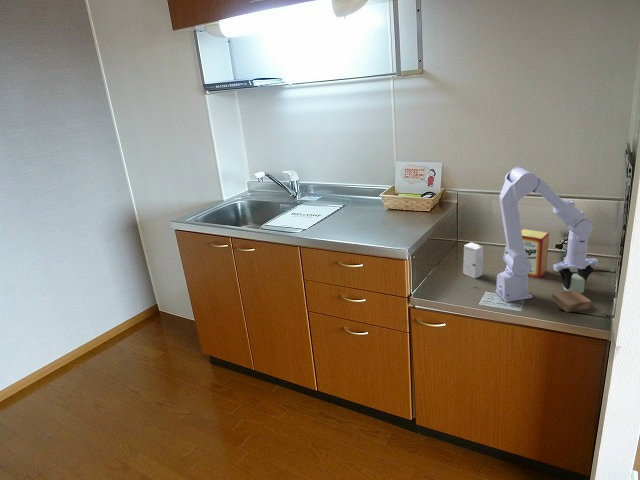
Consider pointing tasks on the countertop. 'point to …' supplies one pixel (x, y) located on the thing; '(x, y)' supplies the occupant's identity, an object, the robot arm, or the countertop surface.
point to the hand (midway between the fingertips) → (573, 286)
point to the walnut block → (571, 301)
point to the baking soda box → (536, 251)
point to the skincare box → (473, 260)
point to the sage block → (576, 283)
